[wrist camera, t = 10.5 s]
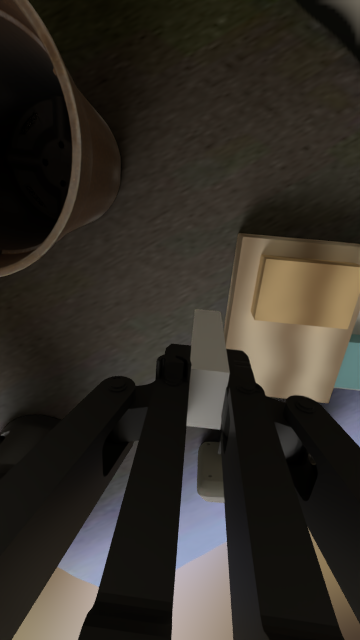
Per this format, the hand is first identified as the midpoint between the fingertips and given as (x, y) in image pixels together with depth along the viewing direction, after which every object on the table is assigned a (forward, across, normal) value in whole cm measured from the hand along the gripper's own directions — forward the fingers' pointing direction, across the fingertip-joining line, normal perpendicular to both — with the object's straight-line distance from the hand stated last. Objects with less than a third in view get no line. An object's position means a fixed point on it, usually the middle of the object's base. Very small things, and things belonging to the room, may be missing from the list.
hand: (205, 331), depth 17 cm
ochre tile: (+13, -10, 0) cm, 17 cm away
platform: (+17, -10, +5) cm, 20 cm away
